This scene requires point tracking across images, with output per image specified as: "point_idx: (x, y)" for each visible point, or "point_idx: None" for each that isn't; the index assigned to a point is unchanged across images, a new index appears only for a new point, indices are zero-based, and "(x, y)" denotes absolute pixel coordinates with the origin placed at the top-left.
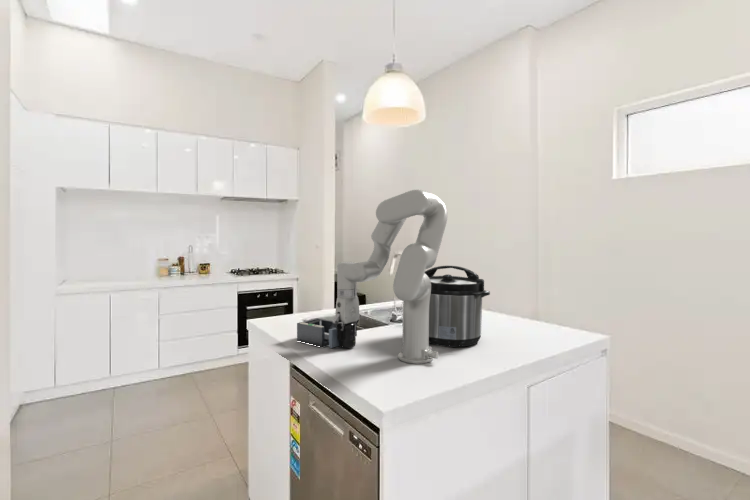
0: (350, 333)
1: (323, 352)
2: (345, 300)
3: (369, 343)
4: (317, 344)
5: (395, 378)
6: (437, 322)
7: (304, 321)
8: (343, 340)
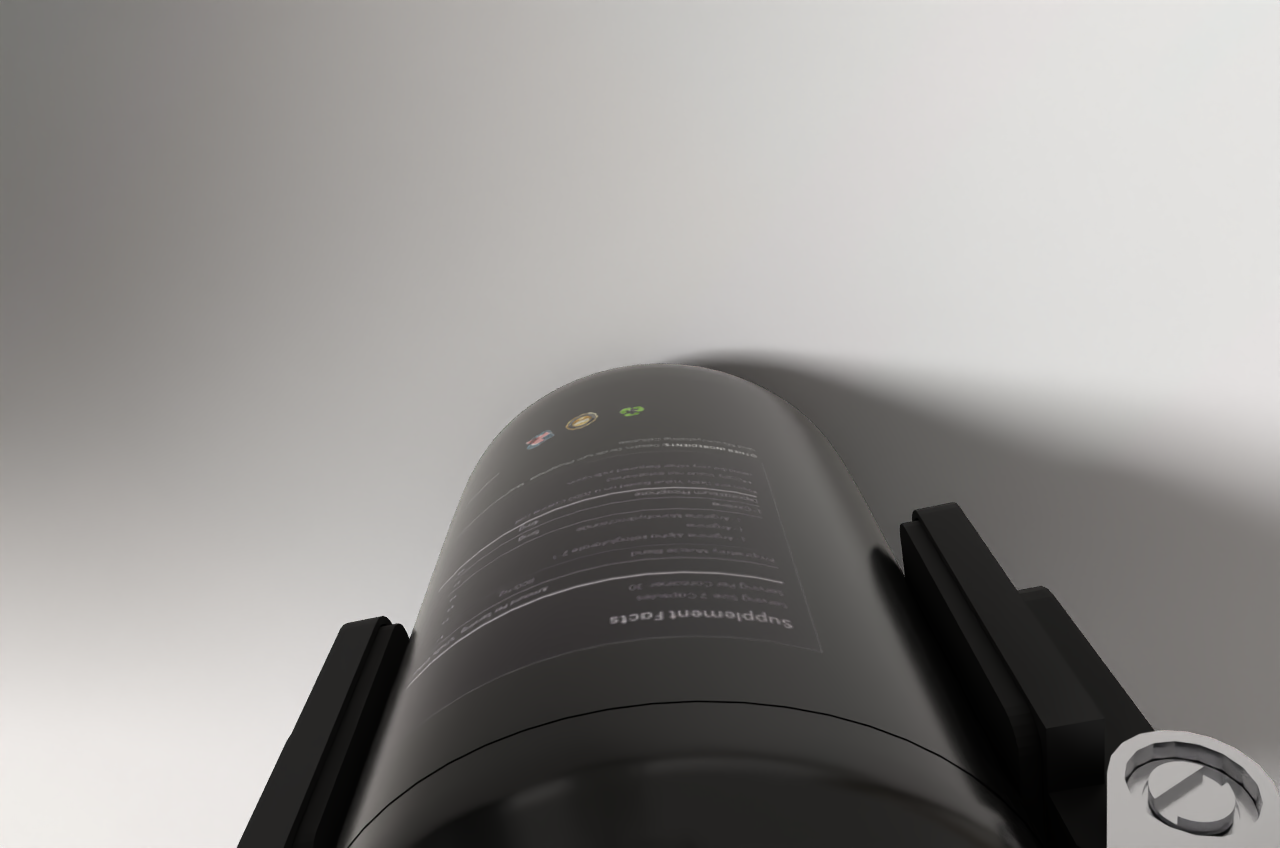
0: (773, 555)
1: (1217, 555)
2: None
3: (44, 445)
4: None
5: None
6: None
7: None
8: (955, 506)
